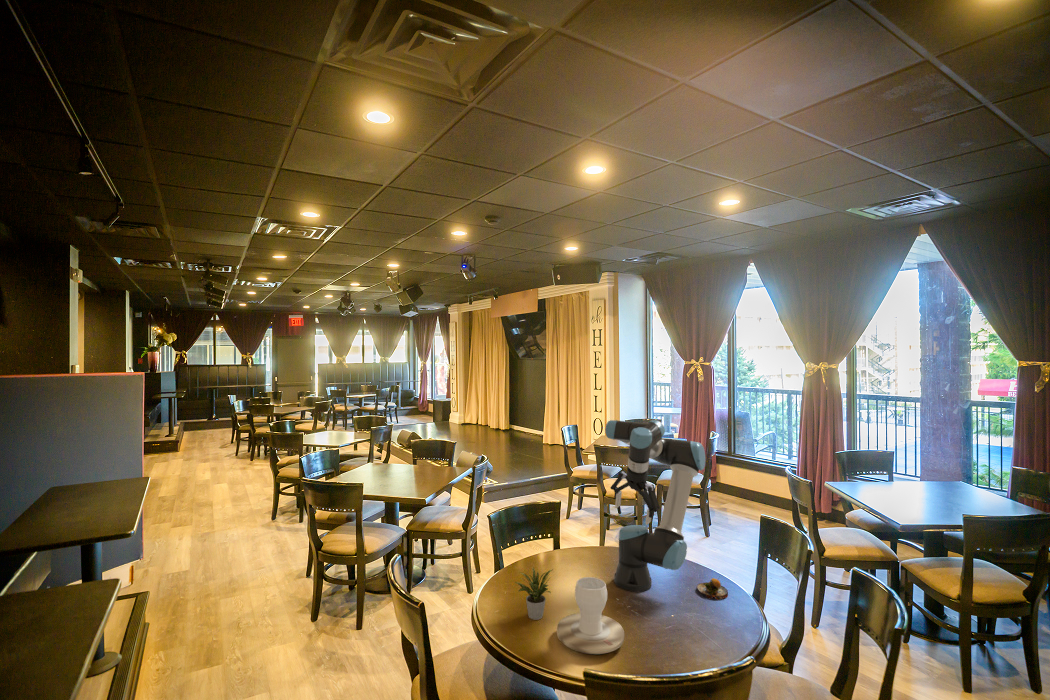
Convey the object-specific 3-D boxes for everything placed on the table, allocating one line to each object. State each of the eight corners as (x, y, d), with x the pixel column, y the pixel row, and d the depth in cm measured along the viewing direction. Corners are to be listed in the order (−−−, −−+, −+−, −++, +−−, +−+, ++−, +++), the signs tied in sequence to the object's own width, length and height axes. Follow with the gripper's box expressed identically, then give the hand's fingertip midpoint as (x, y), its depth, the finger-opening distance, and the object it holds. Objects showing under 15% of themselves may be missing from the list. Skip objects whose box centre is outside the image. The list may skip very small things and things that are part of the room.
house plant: (536, 600, 193) (537, 557, 193) (564, 614, 183) (564, 569, 183) (509, 613, 183) (510, 568, 183) (536, 629, 173) (537, 581, 173)
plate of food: (704, 583, 210) (704, 565, 210) (732, 593, 202) (733, 574, 202) (691, 593, 201) (691, 574, 202) (720, 603, 193) (720, 584, 193)
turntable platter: (544, 627, 170) (544, 623, 170) (594, 611, 181) (594, 606, 181) (584, 661, 151) (585, 656, 151) (638, 641, 163) (638, 636, 163)
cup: (605, 639, 160) (606, 592, 161) (572, 635, 162) (573, 588, 163) (607, 622, 171) (608, 578, 171) (576, 618, 173) (576, 574, 173)
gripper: (604, 458, 192) (600, 504, 200) (662, 486, 176) (656, 535, 184) (615, 450, 197) (611, 495, 205) (673, 477, 181) (666, 525, 189)
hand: (632, 514), depth 195 cm, fingers open, 13 cm apart
